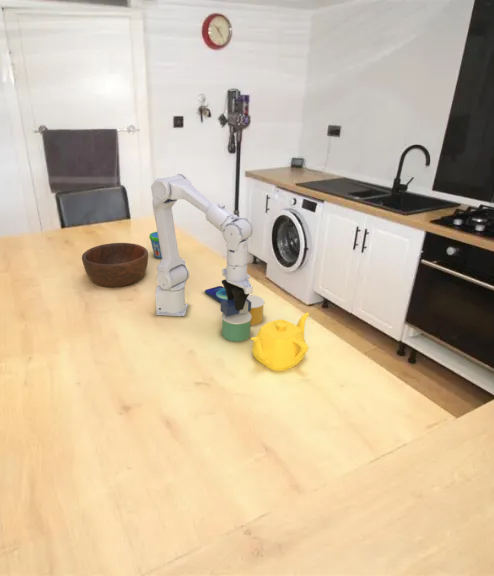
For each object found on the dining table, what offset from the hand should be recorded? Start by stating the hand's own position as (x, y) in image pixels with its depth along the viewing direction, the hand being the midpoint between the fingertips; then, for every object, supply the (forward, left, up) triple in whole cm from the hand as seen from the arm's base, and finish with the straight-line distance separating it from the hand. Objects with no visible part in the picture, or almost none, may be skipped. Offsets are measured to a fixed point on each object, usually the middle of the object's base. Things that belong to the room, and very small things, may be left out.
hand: (235, 306), depth 119 cm
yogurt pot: (0, 0, -9) cm, 9 cm away
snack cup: (-35, +63, -10) cm, 73 cm away
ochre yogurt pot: (+4, +10, -9) cm, 14 cm away
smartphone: (-5, +24, -10) cm, 26 cm away
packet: (0, 0, -2) cm, 2 cm away
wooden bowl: (-48, +38, -10) cm, 62 cm away
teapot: (+13, -12, -10) cm, 20 cm away
